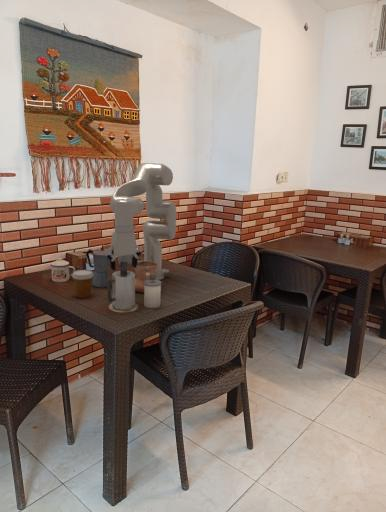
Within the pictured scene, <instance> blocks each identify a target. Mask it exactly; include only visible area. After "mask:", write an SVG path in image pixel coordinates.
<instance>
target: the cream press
mask: <svg viewBox="0 0 386 512" xmlns="http://www.w3.org/2000/svg"><path fill="white" fill-rule="evenodd" d="M161 286H162V281H161V280H156V273H150V280H145V281H144V293H143V294H144V295H143V296H144V297H143V306H144V307H145V308H149V309H157V308H160V306H161V295H162V294H161V293H162V292H161V291H162V289H161V288H162V287H161Z"/></svg>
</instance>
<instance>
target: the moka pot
mask: <svg viewBox="0 0 386 512" xmlns="http://www.w3.org/2000/svg"><path fill="white" fill-rule="evenodd" d="M104 249H105V247H104V246H103V247H100V249H99V250H94V249H88V250H87V251H86V254H85V255H86V258H87V262H88V266H89V268H93V269H94V272H93V277H92V287H95V288H107V280H110V260H109V259H108V258H107V257H106V255H105V253H104V251H105V250H106V249H105V250H104ZM90 254H91V255H92V260H93V265H92V263H91V258H90ZM109 255H110V256H111V255H112V254H111V251H110V252H109Z"/></svg>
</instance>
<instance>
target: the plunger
mask: <svg viewBox="0 0 386 512" xmlns="http://www.w3.org/2000/svg"><path fill="white" fill-rule="evenodd" d="M119 271H120V274H122V275H125V274H127V271H128V265H127V261H121V262H120V264H119Z"/></svg>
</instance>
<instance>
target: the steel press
mask: <svg viewBox="0 0 386 512" xmlns="http://www.w3.org/2000/svg"><path fill="white" fill-rule="evenodd" d="M135 279H136V273H135V272H134V271H130V270H127V274H125V275H122V274H120V270H118V271H116V270H115V271H114V272H113V273H112V274H111V279H109V280H107V287H106V288H107V302H108V303H111V304H112V308H113V309H115V310H119V311H127V310H131V309H133V308H134V307H135V303H136V297H135V296H136V291H135Z"/></svg>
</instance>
